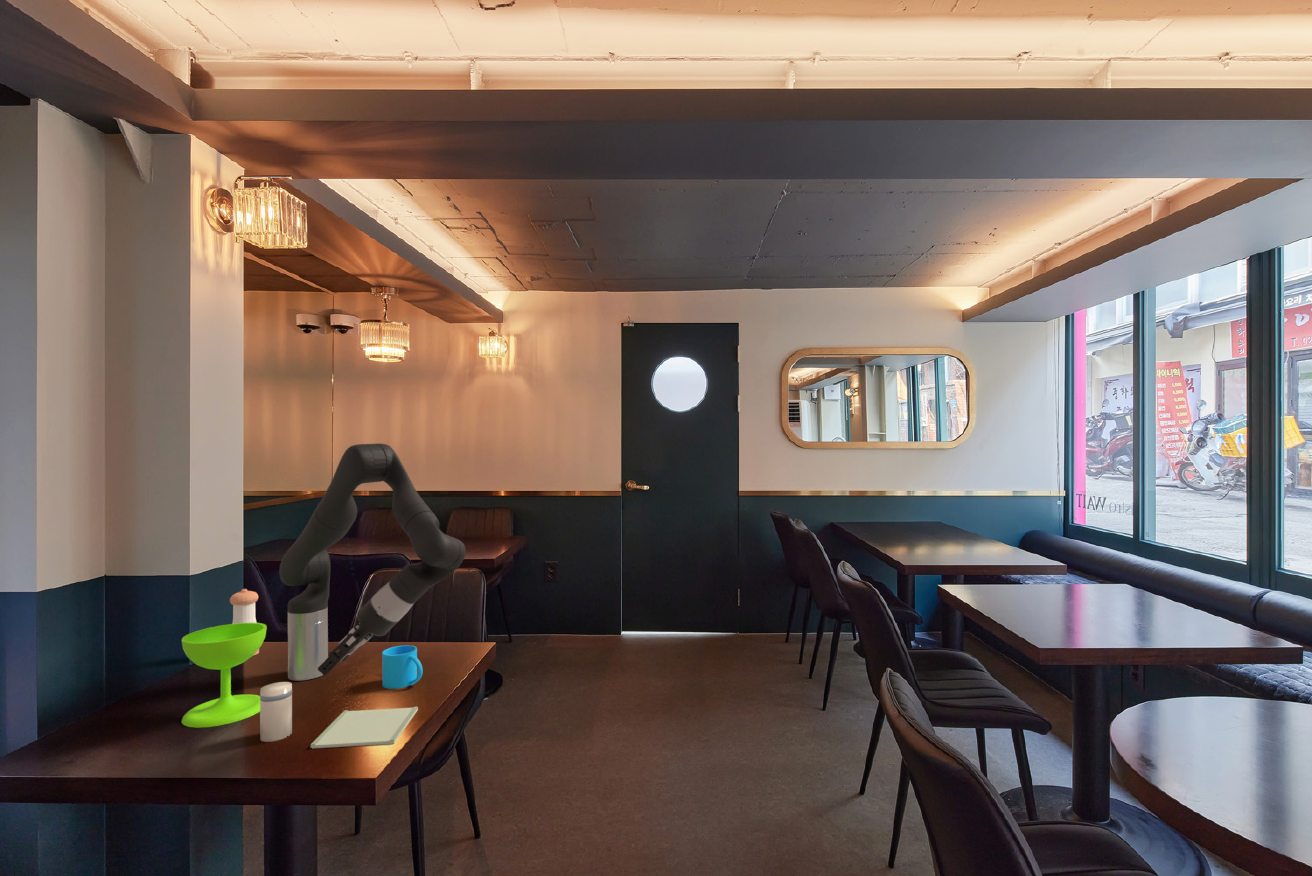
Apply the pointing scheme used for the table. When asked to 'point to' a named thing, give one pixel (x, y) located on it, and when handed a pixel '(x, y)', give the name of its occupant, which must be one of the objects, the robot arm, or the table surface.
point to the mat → (365, 728)
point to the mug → (400, 667)
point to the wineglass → (223, 670)
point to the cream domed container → (275, 711)
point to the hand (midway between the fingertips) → (330, 664)
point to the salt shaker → (244, 607)
